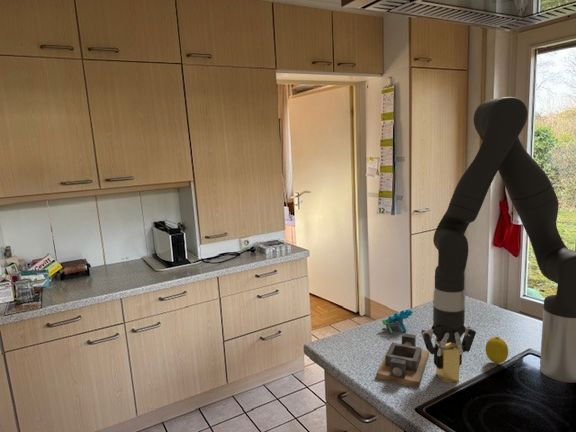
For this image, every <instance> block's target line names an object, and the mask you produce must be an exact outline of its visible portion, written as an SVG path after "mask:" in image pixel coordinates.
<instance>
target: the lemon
mask: <svg viewBox="0 0 576 432" xmlns="http://www.w3.org/2000/svg"><path fill="white" fill-rule="evenodd" d="M485 353H486V354H485V355H486V357H487V358H488V360H490V361H491V362H493V364H495V365H498V364H502V363H504V362H505V361H506V360H507V359H508V357H509V348H508V344H507V342H506V341H505V340H504V339H502V338H500V337H499V336H494V337H491V338H489V339H488V340H487V342H486V344H485Z"/></svg>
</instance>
